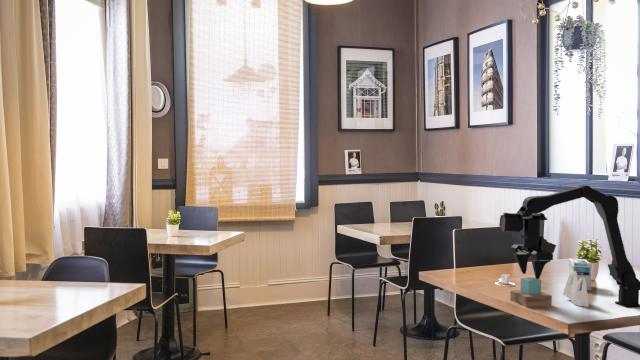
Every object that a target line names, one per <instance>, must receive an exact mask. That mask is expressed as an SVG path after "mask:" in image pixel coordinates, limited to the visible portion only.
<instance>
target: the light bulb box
mask: <svg viewBox="0 0 640 360" xmlns="http://www.w3.org/2000/svg"><path fill="white" fill-rule="evenodd" d="M571 271H573V274H574V271H576V273H577V280H578V281H579V279H580V278H582V282H583V278H584V279H585V280H586V287H587V291H591V290H592V263H591V262H589V261H588V260H587V259H586V258H585V259H584V258H568V275H569V274H570V272H571Z"/></svg>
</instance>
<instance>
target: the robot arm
mask: <svg viewBox="0 0 640 360" xmlns="http://www.w3.org/2000/svg"><path fill="white" fill-rule="evenodd" d="M581 198H584V199H586V200H587V201H589V202H591V203H592V204H594V207H595V209H596V212H597V213H598V215H599V216H600V218H601V220H602V221H603V225H604V229H605V233H606V237H607V241H608V242H607V243H608V246H609V251H610V255H611V258H612V260H611V263H608V264H607V267H608V270H609V276H611V277H612V280H614V281H615V282H616V285H617V286H619V287H618V288H619V289H618V298H617V299H618V301H614V303H615V304H617V305H619V306H622V307H626V308H634V307H635V308H637V307H639V308H640V280H639V279H638V278H637V275H636V274H637V273H636V272H635V270H634V267H633V266H632V263H631V262H630V261H629V259H628V257H627V254H626V250H625V245H624V241H623V238H622V233H621V229H620V225H619V222H618V215H619V210H620V209H619V201H618V199H617V197H615V196H614V195H611V194H607V193H606V194H605V193H603V192H600V191H599V190H597V189H594V188H592V187H591V186H589V185H586V184H580V185H578V186H576V187H573V188H569V189H565V190H562V191H558V192H554V193H551V194H546V195H545V194H544V195H533V196H527V197H525V198H524V199H523V202H522V205H521V207H519V209H518V211H517V212H515V213H513V212H503V214H502V218H501V221H500V226H501V232H502V233H521V232H520V231H522V230H523V233H522V234H520V238H522V241H523V242H522V243H519V244H517V243H515V244H513V245H511V247H510V248H511V250H510V251H511V253H512V254H513V256H514V257H515V261H516V262H517V264H518V267H519V269H520V271H521V273H522V274H523V275H525V274H526V273H527V268H528V260H529V258H530V257H531V258H532V259H531V260H530V261H531V264H532V270H533V273H534V276H535V277H534V278H536V279H540V278H541V275H542V274H543V270H544V268H545V265H546V264H548V263H550V262H551V261H554V253H555V250H556V247H557V245H556V244H554V243H552V242H549V241H548V240H547V239H546V238H544V236H543V235H541V228H542V227H541V226H542V221H547V220H548V218H547V217H546V216H545V215H544V214H543V213H542V212H544V211H546V210H548V209H550V208H551V207H553V206H557V205H560V204H563V203H567V202H572V201H575V200H578V199H581Z"/></svg>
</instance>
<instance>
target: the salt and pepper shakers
mask: <svg viewBox="0 0 640 360" xmlns="http://www.w3.org/2000/svg"><path fill="white" fill-rule="evenodd" d="M562 295H563V296H564V297H565V298H567V299H569V300H571V302H572V303H573V305H576V306H579V307H585V308H586V307H589V297H588V290H587V287H586V280H585V279H584V278H583V282H582V278H580V279H579V281H578V280H577V273H576V271H574V274H573V271H571V272H570V274H569V273H568V277H567V279H566V283H565V286H564V288H563V292H562Z"/></svg>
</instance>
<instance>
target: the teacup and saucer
mask: <svg viewBox="0 0 640 360" xmlns="http://www.w3.org/2000/svg"><path fill="white" fill-rule="evenodd" d="M510 277H511V276H510V274H506V273H504V274H501V277H500V278H498V281H496V282H494V284H495V285H497V286H500V284H501V285H502V286H503V287H514V286H516V284H515V283H514V282H510ZM502 286H501V287H502Z"/></svg>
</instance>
